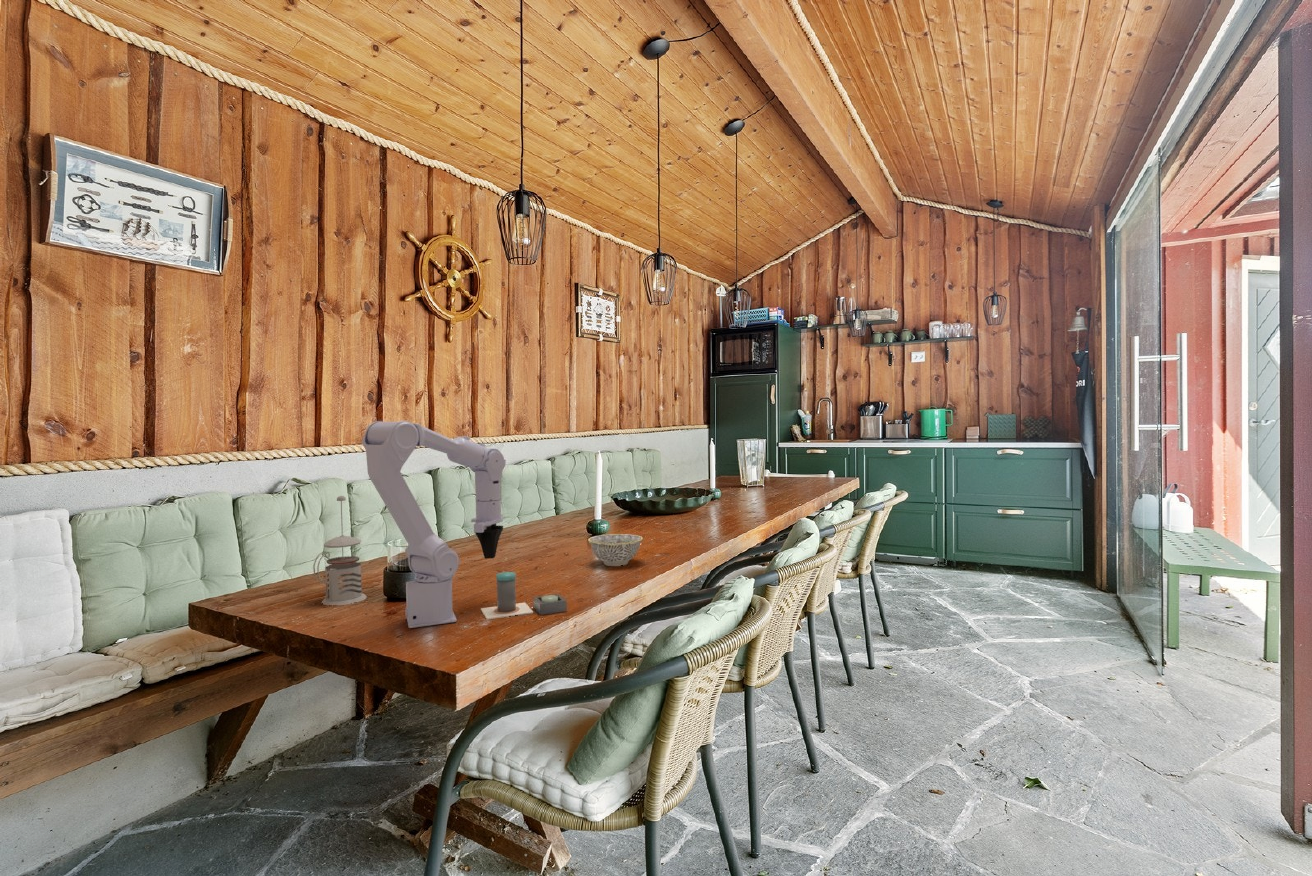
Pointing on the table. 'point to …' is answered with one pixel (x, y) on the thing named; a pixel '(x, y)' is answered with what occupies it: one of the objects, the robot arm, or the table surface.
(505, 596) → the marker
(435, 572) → the robot arm
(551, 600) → the button
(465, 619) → the table surface
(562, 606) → the button base
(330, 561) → the french press
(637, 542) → the bowl
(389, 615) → the table surface
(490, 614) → the paper
